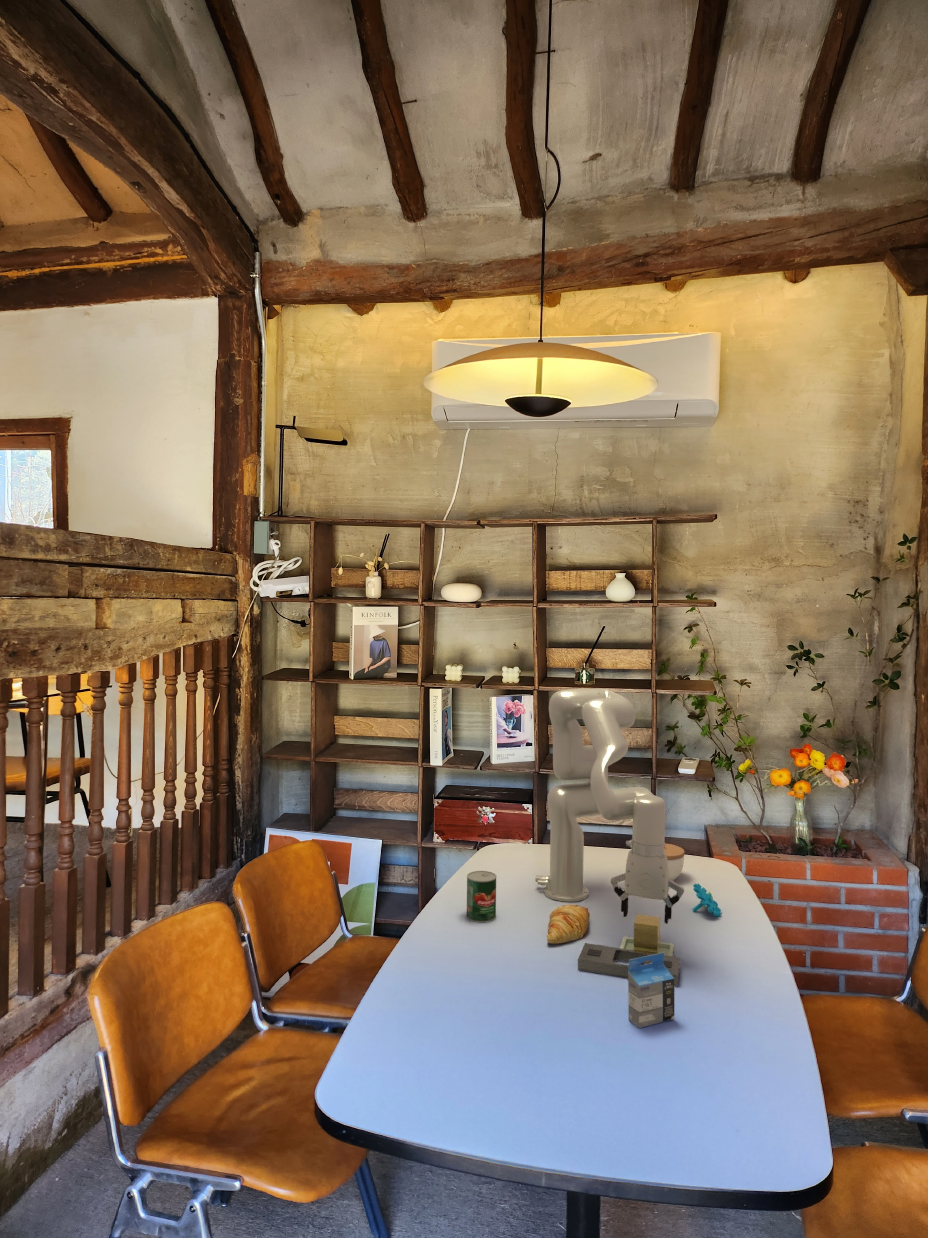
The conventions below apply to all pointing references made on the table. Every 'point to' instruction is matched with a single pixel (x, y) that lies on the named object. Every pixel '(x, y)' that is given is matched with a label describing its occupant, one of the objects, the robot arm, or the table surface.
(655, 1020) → the label tape box
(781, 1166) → the table surface
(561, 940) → the croissant
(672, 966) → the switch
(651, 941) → the wooden block
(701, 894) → the gear
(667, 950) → the tray
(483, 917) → the canned tomato
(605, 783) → the robot arm
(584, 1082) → the table surface
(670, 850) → the lidded bowl
